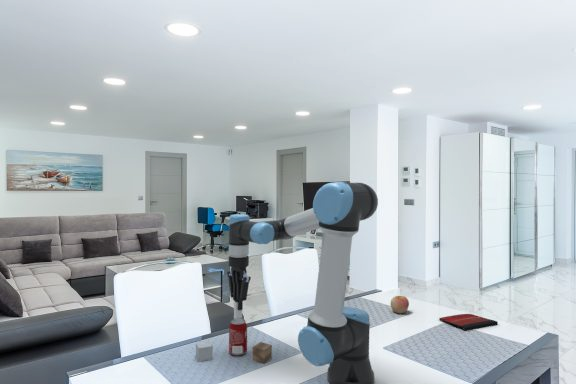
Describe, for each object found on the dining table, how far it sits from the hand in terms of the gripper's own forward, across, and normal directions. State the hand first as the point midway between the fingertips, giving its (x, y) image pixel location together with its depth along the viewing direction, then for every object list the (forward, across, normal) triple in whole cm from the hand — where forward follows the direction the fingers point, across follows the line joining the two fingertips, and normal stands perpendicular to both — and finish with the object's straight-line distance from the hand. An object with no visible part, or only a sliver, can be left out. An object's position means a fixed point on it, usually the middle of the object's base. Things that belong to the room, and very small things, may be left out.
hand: (238, 317), depth 146 cm
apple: (+13, -10, -89) cm, 91 cm away
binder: (+14, -38, -102) cm, 110 cm away
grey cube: (+13, +4, +12) cm, 18 cm away
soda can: (+13, 0, 0) cm, 13 cm away
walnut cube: (+13, -10, -4) cm, 17 cm away
